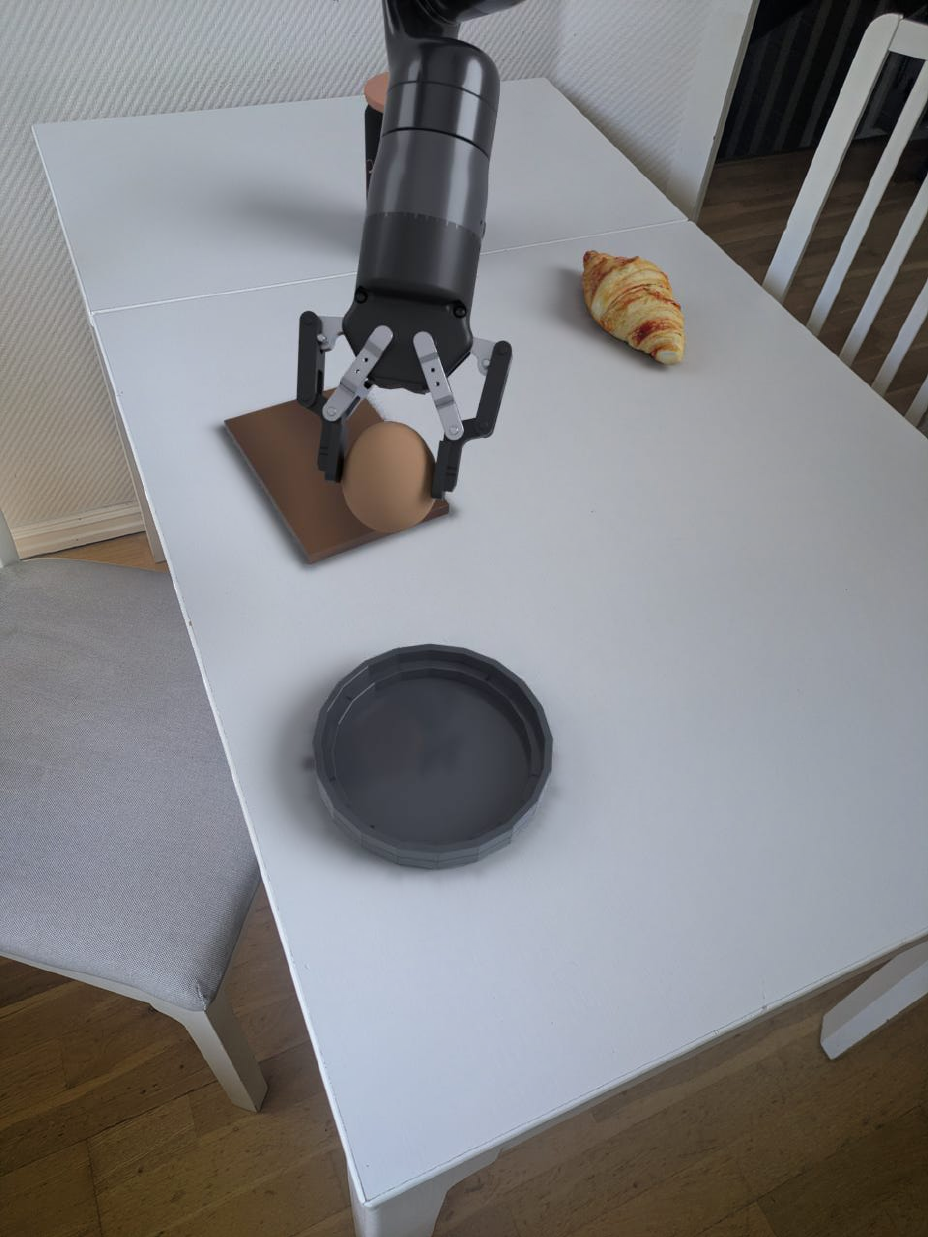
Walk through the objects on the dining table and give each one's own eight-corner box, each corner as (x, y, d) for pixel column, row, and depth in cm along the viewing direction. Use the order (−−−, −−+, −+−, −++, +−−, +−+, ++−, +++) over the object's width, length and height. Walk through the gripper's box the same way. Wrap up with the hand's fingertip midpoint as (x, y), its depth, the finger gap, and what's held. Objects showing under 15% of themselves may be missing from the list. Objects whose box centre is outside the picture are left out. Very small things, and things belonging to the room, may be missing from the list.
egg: (373, 477, 66) (371, 385, 60) (451, 508, 65) (458, 417, 58) (326, 532, 63) (319, 441, 56) (408, 567, 61) (410, 477, 55)
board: (309, 564, 79) (308, 555, 78) (225, 429, 89) (223, 420, 88) (449, 513, 84) (449, 504, 83) (353, 391, 94) (353, 381, 93)
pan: (382, 914, 60) (382, 897, 58) (279, 719, 69) (275, 698, 67) (591, 802, 66) (599, 783, 64) (472, 636, 75) (475, 614, 73)
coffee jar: (349, 247, 111) (343, 89, 97) (402, 214, 117) (403, 61, 103) (419, 278, 108) (423, 119, 94) (469, 242, 114) (480, 88, 100)
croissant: (688, 393, 103) (734, 333, 99) (631, 375, 97) (678, 311, 92) (597, 290, 114) (635, 233, 110) (540, 268, 108) (578, 206, 103)
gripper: (298, 190, 54) (261, 470, 56) (536, 225, 53) (491, 507, 55) (325, 230, 61) (292, 476, 63) (535, 261, 61) (495, 508, 63)
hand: (385, 489), depth 59 cm, fingers closed on egg, 6 cm apart
